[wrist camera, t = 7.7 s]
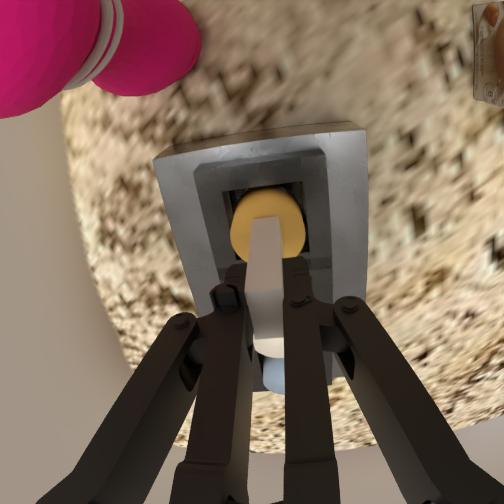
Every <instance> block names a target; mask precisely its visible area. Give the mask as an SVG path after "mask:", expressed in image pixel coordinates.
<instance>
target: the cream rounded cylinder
mask: <svg viewBox="0 0 504 504" xmlns="http://www.w3.org/2000/svg"><path fill="white" fill-rule="evenodd" d="M253 343H254V347H255V350H256V351H257V352H259V353H260V354H262V355H265V356H268V357H272V358H284V337H283V338H271V339H259V340H255V337H254V334H253Z"/></svg>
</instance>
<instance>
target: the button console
mask: <svg viewBox="0 0 504 504" xmlns="http://www.w3.org/2000/svg"><path fill="white" fill-rule="evenodd" d="M152 161H153V165H154V168H155V172H156V176H157V180H158V183H159V187H160V191H161V194H162V198H163V201H164V205H165V208H166V212H167V215H168V219H169V222H170V226H171V229H172V232H173V236H174V239H175V242H176V245H177V249H178V252H179V255H180V258H181V261H182V265H183V268H184V271H185V274H186V277H187V280H188V283H189V286H190V289H191V292H192V295H193V298H194V301H195V304H196V307H197V310H198V313H199V316H200V317H203V316H206V315H208V314H210V313H212V312H213V310H214V308H213V305H212V301H211V298H210V295H209V293H210V291H211V289H213V288H214V287H215V286H217V285H219V284H222V283H224V280H225V275H226V271H227V269H228V268H229V267H230V266H231V265H232V264H241V263H247V262H245V261H244V260H243V259H241V258H240V257H239V256H238V254H237V253H236V252H235V250H234V248H233V246H232V243H231V239H230V231H231V226H232V221H233V217H234V216H233V211H232V206H231V201H230V196H229V191H230V190H237V189H244V188H252V187H259V186H267V185H275V184H283V183H291V182H300V181H301V186H302V195H303V205H304V215H305V226H306V235H305V242H304V245H303V247H302V250H301V251H300V253H299V254H298V255H297V256H296V257H298V256H303V257H304V258H305V259H306V260H307V262H308V267H309V273H310V279H311V285H312V291H313V295H314V297H315V298H316V299H318V300H319V301H321V302H324V303H329V304H334V302H335V301H336V300H337V299H339V298H341V297H344V296H356V297H359V298H361V299H362V300H363V301H364V302H365V298H366V282H367V260H368V166H367V145H366V130H364V129H363V128H361V127H359V126H358V125H356V124H354V123H353V122H351V121H347V122H333V123H321V124H310V125H300V126H291V127H282V128H274V129H266V130H259V131H252V132H245V133H239V134H233V135H227V136H221V137H215V138H209V139H204V140H199V141H194V142H189V143H184V144H179V145H174V146H169V147H168V148H167V149H165V150H164V151H163V152H162V153H160V154H159V155H158V156H157V157H155V158H154V159H153V160H152ZM323 357H324V364H325V372H326V380H327V385H332V378H335V377H342V376H344V374H343V372H342V370H341V368H340V367H339V365H338V363H337V361H336V359H335V357H334V354H333V352H328V351H323ZM263 365H264V355H262V354H260V353H259V352H257V351H256V350H255V356H254V374H253V392H261V391H270V390H268V389H267V388H266V387H265V386H264V383H263Z"/></svg>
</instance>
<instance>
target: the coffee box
mask: <svg viewBox="0 0 504 504" xmlns="http://www.w3.org/2000/svg"><path fill="white" fill-rule="evenodd" d="M473 16H474V34H475V78H474V99H476V100H480V101H484V102H487V103H491V104H494V105H497V106H500V107H504V1H502V2H493V3H488V4H480V5H473Z"/></svg>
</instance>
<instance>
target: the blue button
mask: <svg viewBox="0 0 504 504" xmlns="http://www.w3.org/2000/svg"><path fill="white" fill-rule="evenodd" d="M263 383H264V386H265V387H266V388H267V389H268V390H270V391H272V392H274V393H277V394H284V395H285V376H284V358H272V357H268V356H265V355H264V365H263Z"/></svg>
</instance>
